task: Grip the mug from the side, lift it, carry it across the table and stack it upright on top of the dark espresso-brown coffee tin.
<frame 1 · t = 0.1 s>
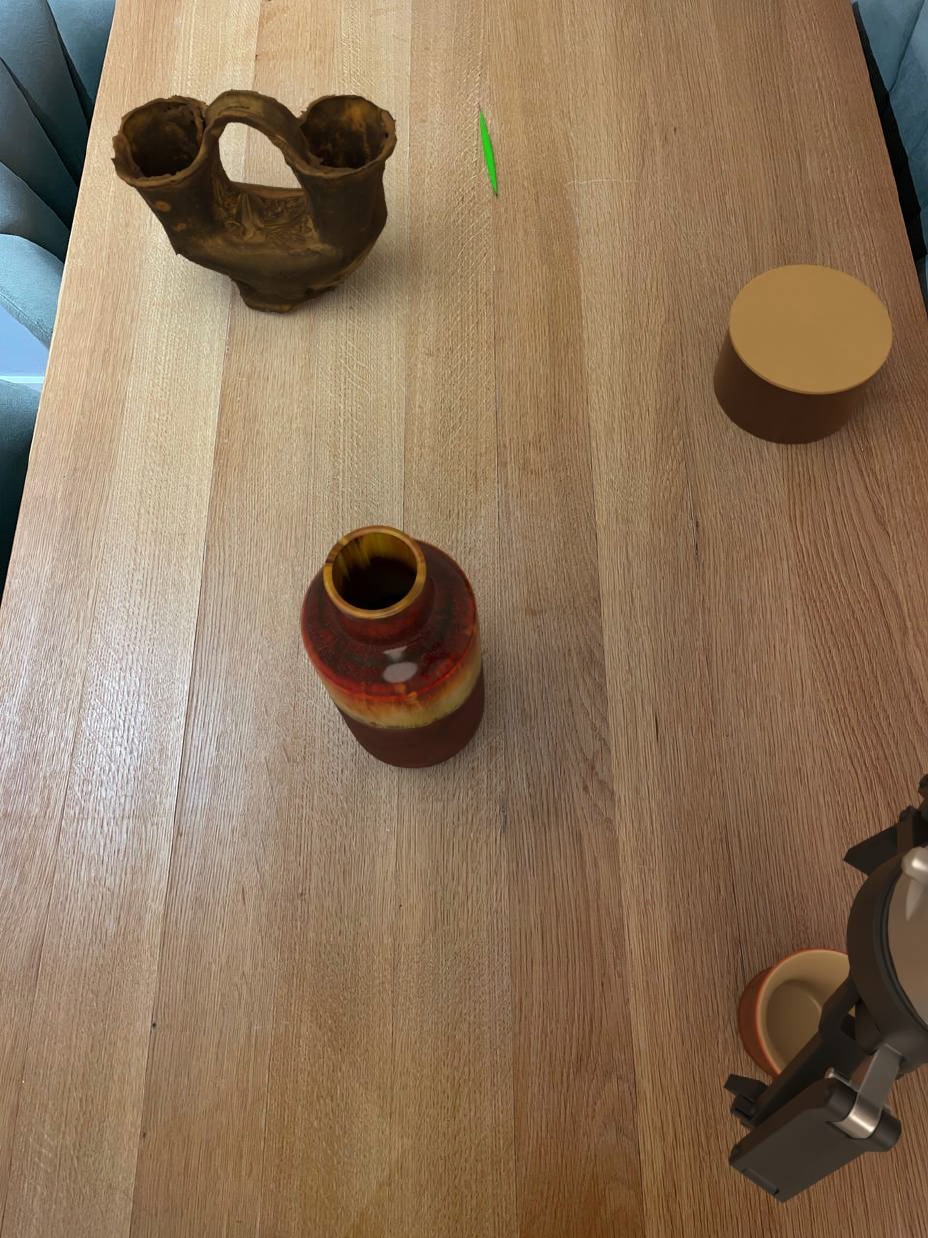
hand: (811, 978, 50), 19 cm above the table, tool pointing down, fingers open, 13 cm apart
vase: (418, 711, 76), on the table
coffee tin: (785, 384, 87), on the table
mug: (779, 1047, 66), on the table
pottery vessel: (293, 278, 95), on the table
leaf: (488, 155, 100), on the table
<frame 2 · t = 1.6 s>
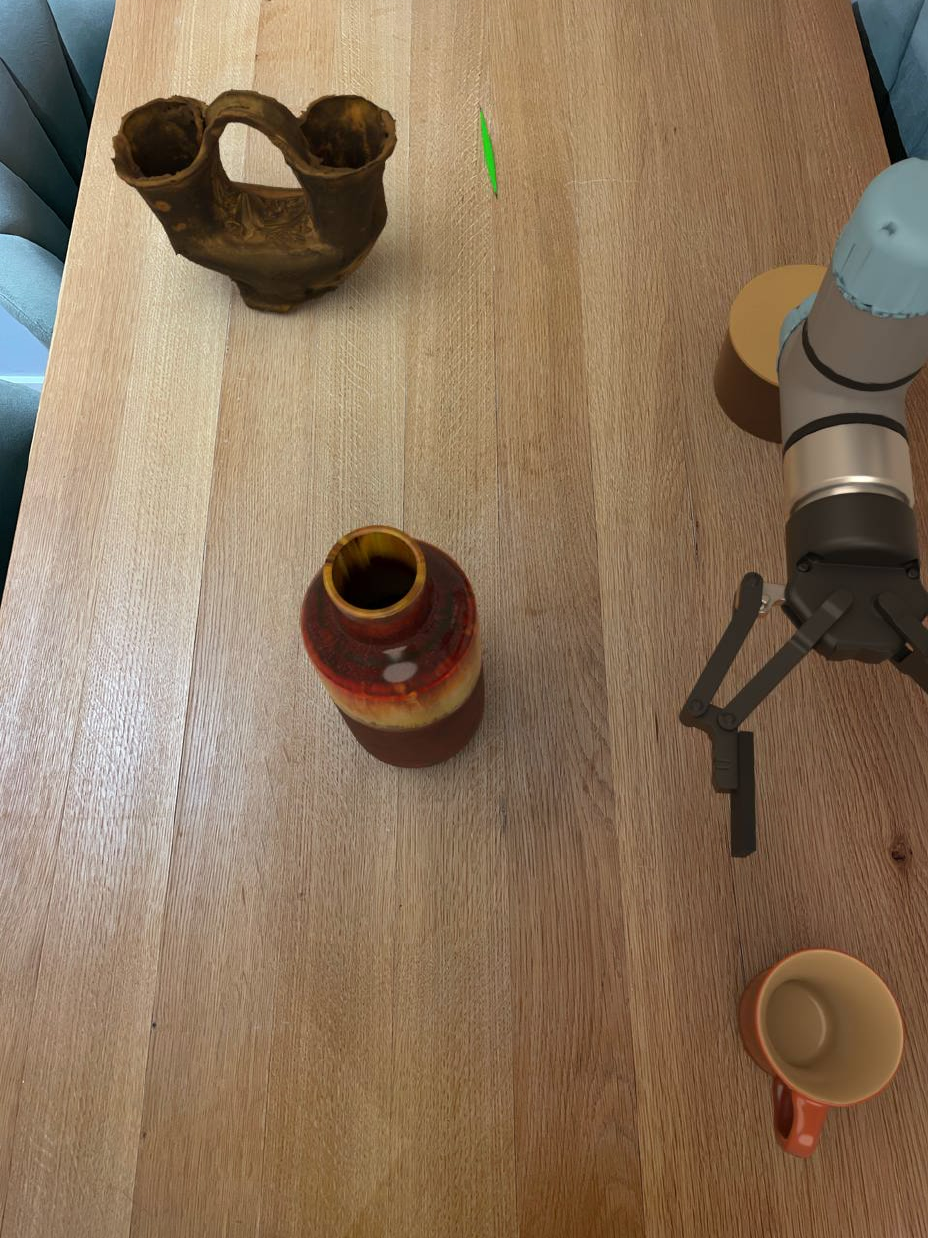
hand: (872, 866, 50), 20 cm above the table, tool horizontal, fingers open, 13 cm apart
nothing on the table moved.
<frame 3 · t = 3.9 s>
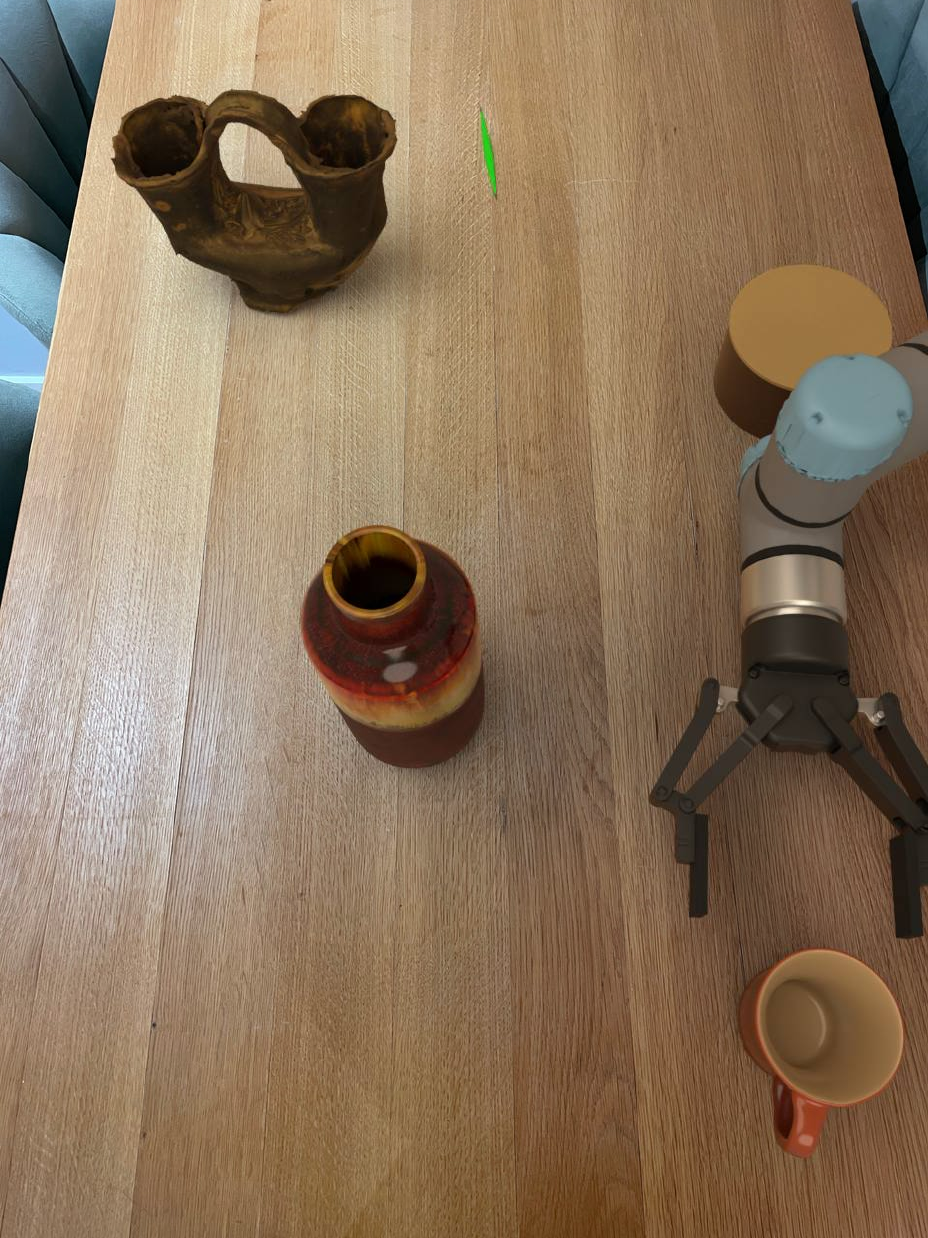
hand: (802, 927, 62), 7 cm above the table, tool horizontal, fingers open, 13 cm apart
nothing on the table moved.
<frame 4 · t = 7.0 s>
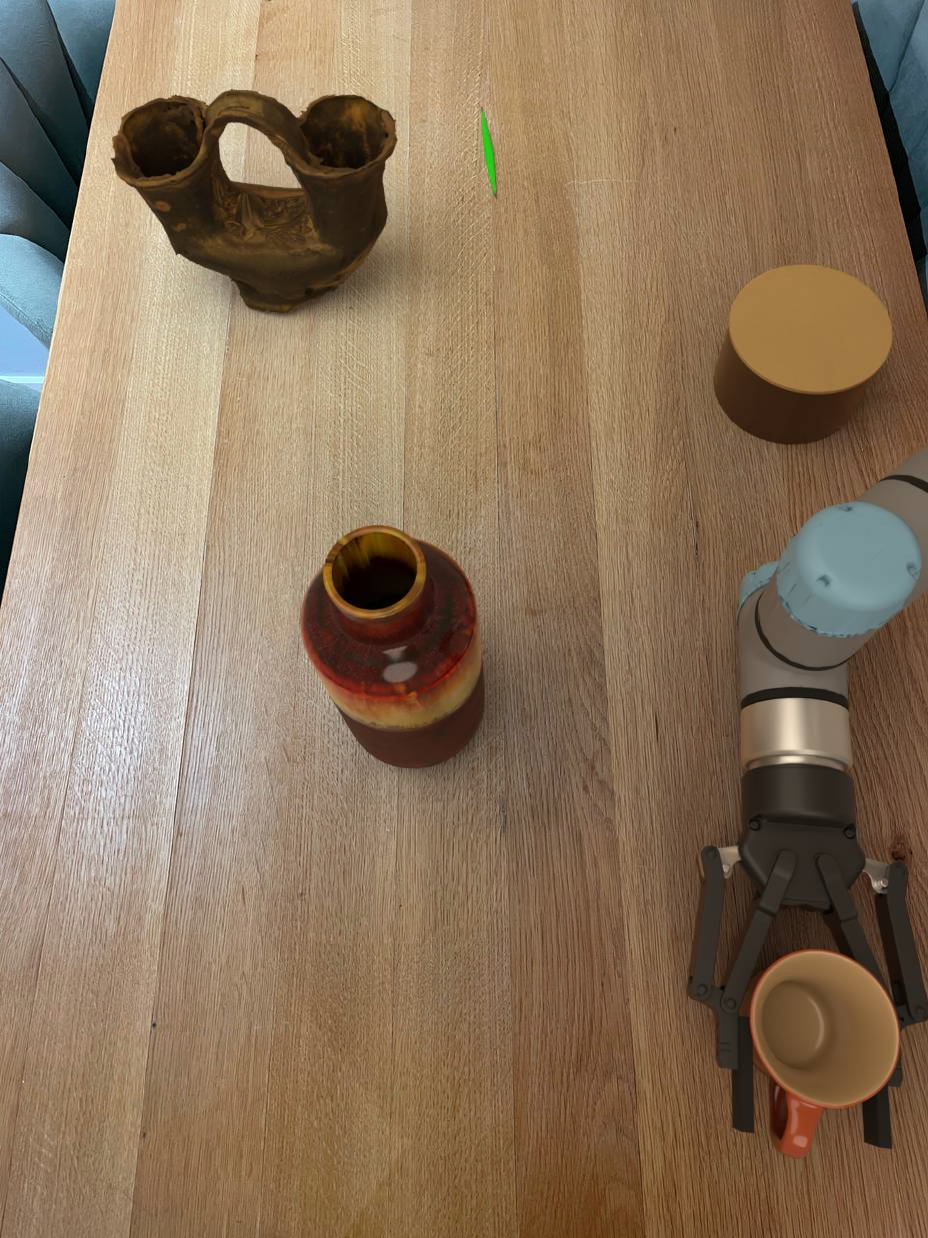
hand: (810, 1137, 58), 6 cm above the table, tool horizontal, fingers closed on mug, 7 cm apart
mug: (777, 1047, 65), on the table, touching gripper
everything else where it was.
when the fingers open (14 cm above the table, at t = 22.3 s): mug stays where it is, resting on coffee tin.
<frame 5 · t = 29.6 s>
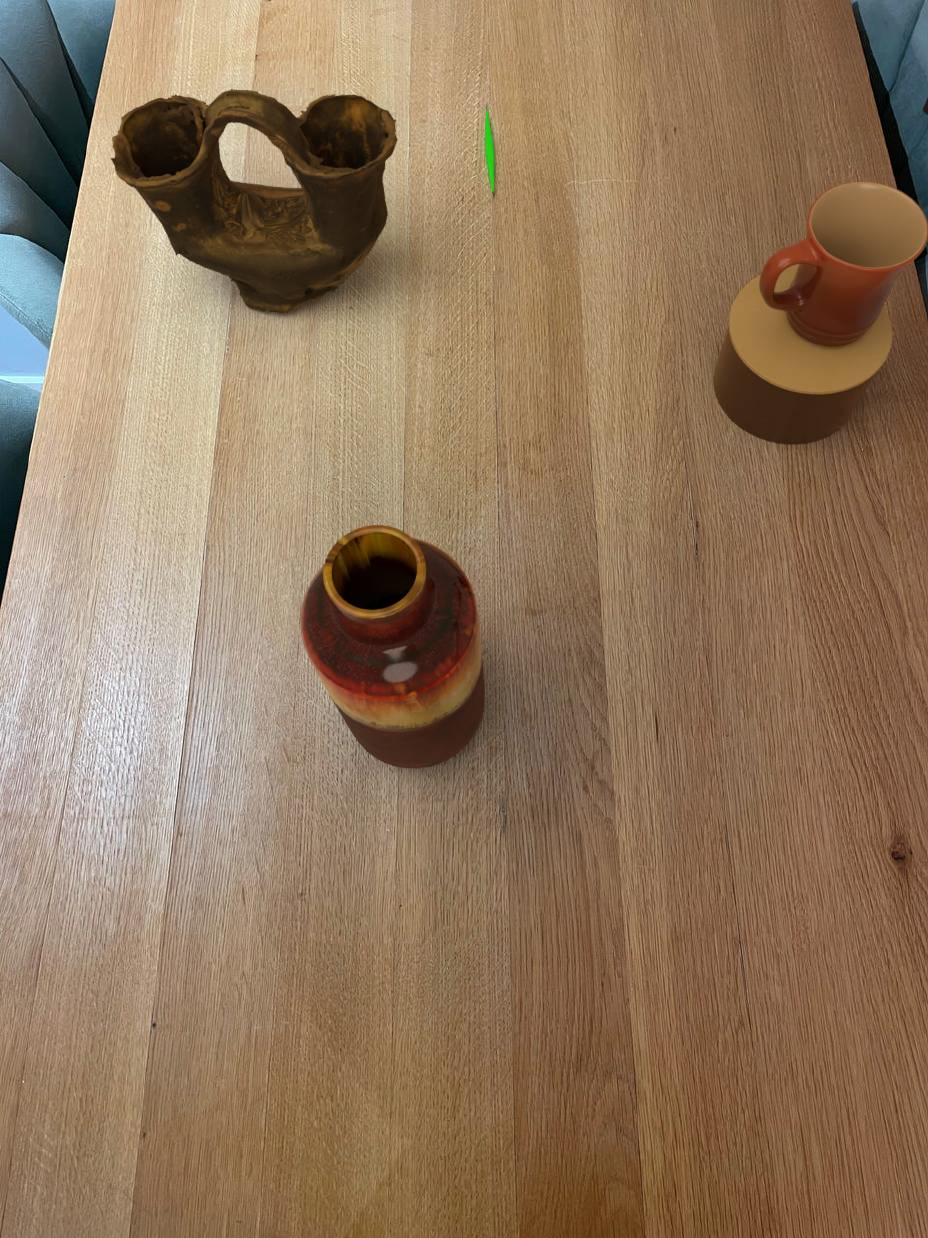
mug: (807, 324, 80), point 8 cm above the table, touching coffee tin
everything else where it was.
at the end: mug 0.3 cm off-centre on the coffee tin, point 7.8 cm above the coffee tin's base; mug tilted 0°; the gripper is holding nothing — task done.
